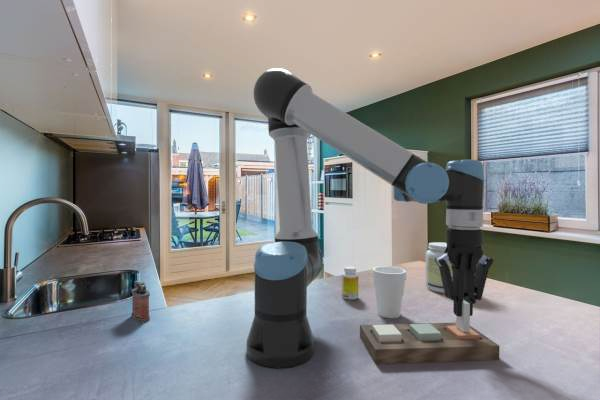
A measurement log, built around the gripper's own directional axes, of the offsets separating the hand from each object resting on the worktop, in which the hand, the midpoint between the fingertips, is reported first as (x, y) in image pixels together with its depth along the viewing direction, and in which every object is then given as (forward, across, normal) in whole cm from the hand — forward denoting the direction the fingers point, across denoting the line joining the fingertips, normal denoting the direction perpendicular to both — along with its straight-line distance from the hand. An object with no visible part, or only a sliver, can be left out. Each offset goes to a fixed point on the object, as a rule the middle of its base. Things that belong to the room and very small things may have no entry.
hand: (462, 329), depth 71 cm
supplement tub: (+4, +19, +42) cm, 46 cm away
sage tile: (+2, -9, 0) cm, 9 cm away
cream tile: (+2, -18, 0) cm, 18 cm away
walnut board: (+4, -9, 0) cm, 10 cm away
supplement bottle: (+4, -18, +35) cm, 40 cm away
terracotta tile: (+2, 0, 0) cm, 2 cm away
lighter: (+4, -81, +21) cm, 84 cm away
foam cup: (+4, -10, +20) cm, 23 cm away
